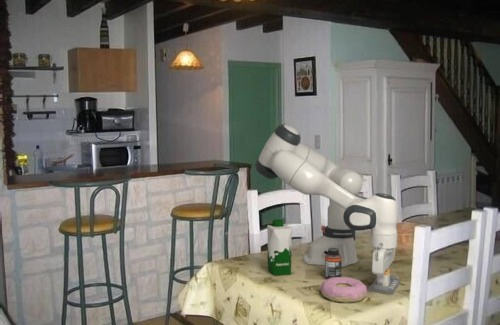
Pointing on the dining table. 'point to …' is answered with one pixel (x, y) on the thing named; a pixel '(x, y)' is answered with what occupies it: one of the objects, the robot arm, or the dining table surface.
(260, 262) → the dining table surface
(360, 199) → the robot arm
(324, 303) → the dining table surface
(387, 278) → the fader knob
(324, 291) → the donut
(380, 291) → the console
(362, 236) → the dining table surface
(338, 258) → the supplement bottle
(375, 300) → the dining table surface
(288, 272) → the milk carton
